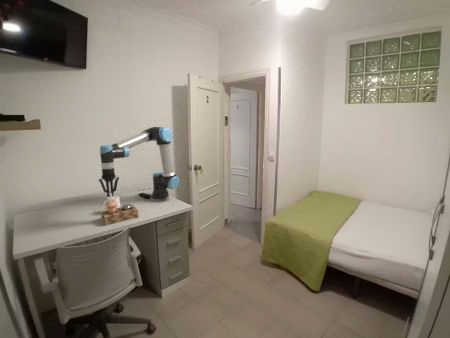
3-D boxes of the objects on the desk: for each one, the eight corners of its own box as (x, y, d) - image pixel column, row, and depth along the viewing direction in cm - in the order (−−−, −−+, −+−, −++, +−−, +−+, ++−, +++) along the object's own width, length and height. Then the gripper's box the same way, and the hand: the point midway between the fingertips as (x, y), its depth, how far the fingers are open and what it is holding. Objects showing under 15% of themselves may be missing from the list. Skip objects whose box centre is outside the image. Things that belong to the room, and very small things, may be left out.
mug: (104, 216, 170) (103, 200, 168) (103, 212, 177) (101, 197, 175) (121, 212, 177) (120, 197, 174) (119, 209, 184) (118, 194, 181)
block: (133, 212, 178) (132, 204, 177) (138, 217, 169) (137, 209, 168) (101, 219, 165) (100, 211, 164) (105, 225, 156) (104, 217, 154)
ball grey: (130, 213, 174) (129, 203, 173) (133, 216, 170) (132, 206, 168) (121, 215, 170) (120, 205, 169) (124, 218, 166) (123, 208, 164)
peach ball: (115, 211, 167) (114, 201, 166) (118, 214, 163) (117, 203, 161) (106, 213, 163) (105, 203, 162) (108, 216, 159) (107, 205, 157)
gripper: (116, 166, 163) (119, 197, 168) (96, 168, 155) (99, 201, 160) (119, 168, 157) (122, 200, 162) (98, 170, 149) (101, 204, 154)
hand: (110, 201), depth 161 cm, fingers closed
